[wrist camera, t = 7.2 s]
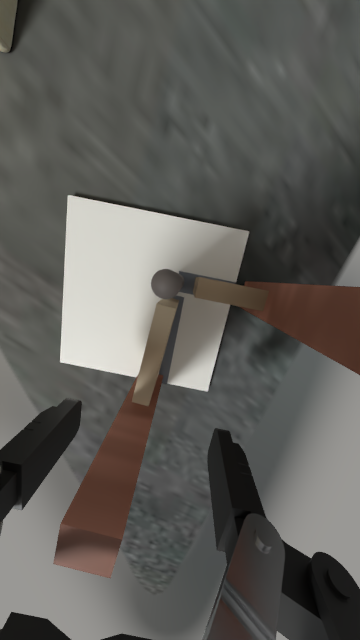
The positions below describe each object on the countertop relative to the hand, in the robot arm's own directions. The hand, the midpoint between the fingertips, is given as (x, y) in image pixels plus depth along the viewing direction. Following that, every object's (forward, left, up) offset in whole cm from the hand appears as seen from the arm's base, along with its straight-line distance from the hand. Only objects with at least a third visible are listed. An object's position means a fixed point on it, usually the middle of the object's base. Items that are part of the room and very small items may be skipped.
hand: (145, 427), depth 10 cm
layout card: (-6, -2, -5) cm, 8 cm away
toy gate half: (-3, 0, -4) cm, 5 cm away
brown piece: (-8, +3, -5) cm, 10 cm away
